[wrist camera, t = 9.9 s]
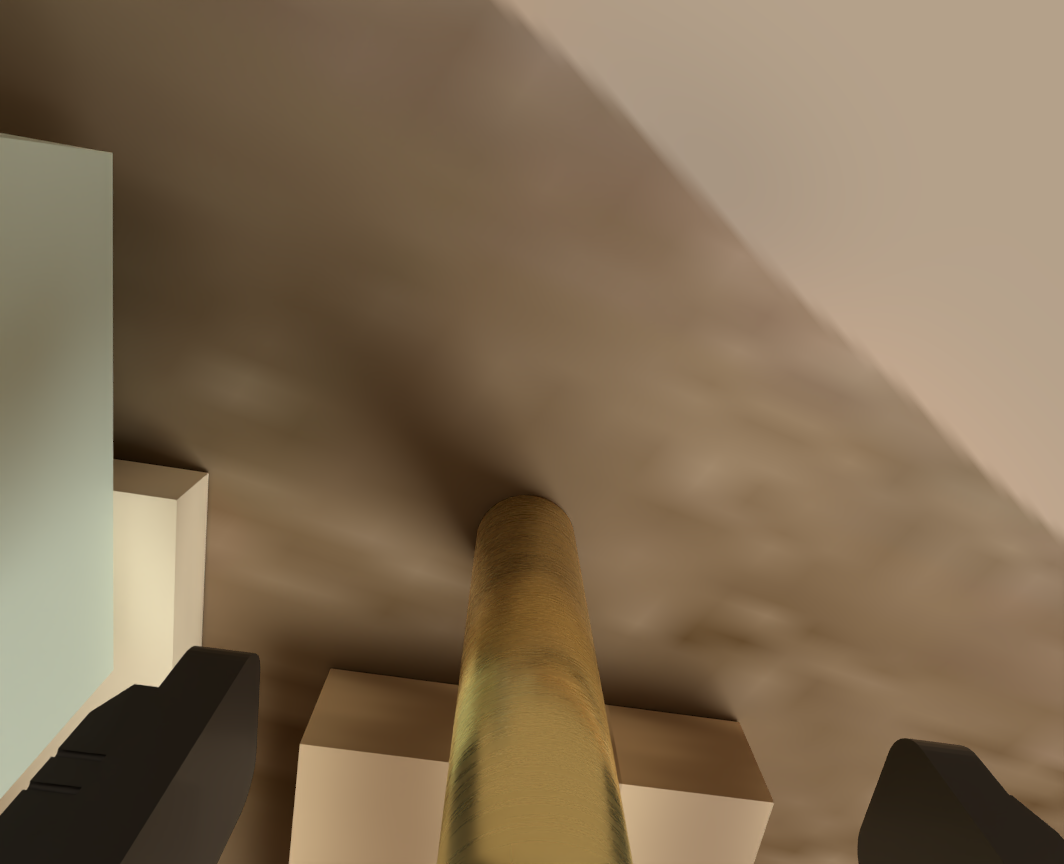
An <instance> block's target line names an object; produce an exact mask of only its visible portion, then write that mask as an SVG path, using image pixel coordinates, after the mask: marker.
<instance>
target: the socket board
mask: <svg viewBox="0 0 1064 864" xmlns="http://www.w3.org/2000/svg"><path fill="white" fill-rule="evenodd" d="M457 693H458V685H453V684H445V683H438V682H430V681H423V680H415V679H407V678H400V677H392V676H385V675H377V674H369V673H362V672H354V671H347V670H339V669H331V668H330V671H329V673H328V676H327V678H326V681H325V683H324V686H323V688H322V691H321V693H320V696H319V698H318V701H317V703H316V705H315V708H314V710H313V713H312V715H311V718H310V720H309V723H308V725H307V728H306V730H305V733H304V735H303V737H302V740H301V742H300V748H299V759H298V770H297V781H296V792H295V802H294V813H293V824H292V835H291V846H290V857H289V864H437V858H438V849H439V841H440V833H441V825H442V817H443V808H444V800H445V792H446V784H447V775H448V767H449V759H450V751H451V743H452V734H453V726H454V718H455V710H456V702H457ZM605 709H606V715H607V720H608V726H609V732H610V737H611V743H612V748H613V754H614V760H615V765H616V771H617V777H618V782H619V788H620V793H621V799H622V805H623V810H624V816H625V821H626V827H627V833H628V838H629V844H630V849H631V855H632V861H633V864H754V861H755V858H756V855H757V852H758V849H759V846H760V843H761V840H762V837H763V834H764V831H765V828H766V825H767V822H768V819H769V816H770V813H771V810H772V807H773V804H774V802H773V799H772V797H771V795H770V792H769V790H768V788H767V785H766V783H765V781H764V778H763V776H762V774H761V772H760V769H759V767H758V765H757V762H756V760H755V758H754V755H753V753H752V751H751V748H750V746H749V744H748V742H747V739H746V737H745V735H744V732H743V730H742V728H741V725H740V723H739V722H734V721H726V720H719V719H711V718H703V717H696V716H688V715H681V714H673V713H665V712H658V711H650V710H643V709H635V708H627V707H620V706H612V705H605Z"/></svg>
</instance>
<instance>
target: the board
mask: <svg viewBox="0 0 1064 864" xmlns="http://www.w3.org/2000/svg"><path fill="white" fill-rule="evenodd" d="M208 474H209V473H206V472H199V471H192V470H186V469H179V468H172V467H165V466H159V465H152V464H145V463H138V462H132V461H125V460H118V459H113V671H112V672H111V673H110V674H109V676H108V677H107V678H106V679H105V680H104V681H103V682H102V684H101V685H100V686H99V687H98V688H97V689H96V690H95V692H94V693H93V694H92V695H91V696H90V697H89V698H88V700H87V701H86V702H85V703H84V704H83V705H82V706H81V708H80V709H79V710H78V711H77V712H76V713H75V714H74V716H73V717H72V718H71V719H70V720H69V721H68V722H67V724H66V725H65V726H64V727H63V728H62V729H61V730H60V732H59V733H58V734H57V735H56V736H55V737H54V738H53V740H52V741H51V742H50V743H49V744H48V745H47V746H46V748H45V749H44V750H43V751H42V752H41V753H40V754H39V755H38V757H37V758H36V759H35V760H34V761H33V762H32V763H31V765H30V766H29V767H28V768H27V769H26V770H25V771H24V773H23V774H22V775H21V776H20V777H19V778H18V779H17V781H16V782H15V783H14V784H13V785H12V786H11V787H10V789H9V790H8V791H7V792H6V793H5V794H4V795H3V797H2V798H1V799H0V815H1V814H2V813H3V811H4V810H5V809H6V808H7V807H8V806H9V805H10V803H11V802H12V801H13V800H14V799H15V798H16V796H17V795H18V794H19V793H20V792H21V791H22V790H27V788H28V787H29V784H30V780H31V779H32V778H33V777H34V776H35V775H36V773H37V772H38V771H39V770H40V769H41V768H42V767H43V765H44V764H45V763H46V762H47V761H48V760H49V758H50V757H55V756H56V754H57V751H58V748H59V747H60V746H61V745H62V743H63V742H64V741H65V740H66V739H67V738H68V737H69V735H70V734H71V733H72V732H73V731H74V730H75V729H76V727H77V726H78V725H79V724H80V723H81V722H82V720H83V719H84V718H85V717H86V716H87V715H88V714H89V712H91V711H92V710H94V709H95V708H97V707H99V706H100V705H102V704H103V703H105V702H107V701H108V700H110V699H111V698H113V697H115V696H116V695H118V694H119V693H121V692H123V691H124V690H126V689H127V688H129V687H130V686H132V685H134V684H138V685H146V686H154V687H159V686H160V685H161V683H162V682H163V681H164V680H165V678H166V677H167V676H168V674H169V673H170V672H171V670H172V669H173V668H174V667H175V665H176V664H177V663H178V661H179V660H180V659H181V658H182V656H183V655H184V654H185V653H186V651H187V650H188V649H190V648H191V647H193V646H201V647H202V623H203V598H204V574H205V549H206V524H207V499H208Z"/></svg>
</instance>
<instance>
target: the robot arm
mask: <svg viewBox="0 0 1064 864" xmlns="http://www.w3.org/2000/svg"><path fill="white" fill-rule="evenodd" d="M259 685H260V660H259V657H258V655H257V654H256V653H248V652H240V651H233V650H225V649H217V648H209V647H201V646H193V647H191V648H190V649H188V650H187V651H186V653H185V654H184V655H183V656H182V658H181V659H180V660H179V661H178V663H177V664H176V665H175V667H174V668H173V669H172V670H171V672H170V673H169V674H168V676H167V677H166V678H165V680H164V681H163V682H162V683H161V685H160V686H159V687H154V686H146V685H138V684H134V685H132V686H130V687H129V688H127V689H126V690H124V691H123V692H121V693H119V694H118V695H116V696H115V697H113V698H111V699H110V700H108V701H107V702H105V703H103V704H102V705H100V706H99V707H97V708H95V709H94V710H92V711H91V712H89V714H88V715H87V716H86V717H85V718H84V719H83V720H82V722H81V723H80V724H79V725H78V726H77V727H76V729H75V730H74V731H73V732H72V733H71V734H70V735H69V737H68V738H67V739H66V740H65V741H64V742H63V743H62V745H61V746H60V747H59V748H58V751H57V754H56V756H55V757H50V758H49V760H48V761H47V762H46V763H45V764H44V765H43V767H42V768H41V769H40V770H39V771H38V772H37V773H36V775H35V776H34V777H33V778H32V779H31V780H30V784H29V787H28V788H27V790H22V791H21V792H20V793H19V794H18V795H17V796H16V798H15V799H14V800H13V801H12V802H11V803H10V805H9V806H8V807H7V808H6V809H5V810H4V811H3V813H2V814H1V815H0V864H217V863H218V861H219V858H220V856H221V854H222V852H223V850H224V848H225V846H226V844H227V842H228V839H229V837H230V835H231V833H232V831H233V829H234V827H235V825H236V823H237V820H238V818H239V816H240V814H241V812H242V809H243V807H244V804H245V802H246V799H247V796H248V792H249V789H250V785H251V782H252V777H253V773H254V767H255V761H256V748H257V727H258V706H259ZM858 862H859V864H1064V839H1063V838H1062V837H1061V836H1060V835H1059V834H1058V833H1057V832H1056V831H1055V830H1054V829H1053V828H1051V827H1050V826H1049V825H1048V824H1046V823H1045V822H1044V821H1043V820H1041V819H1040V818H1039V817H1038V816H1037V815H1035V814H1034V813H1033V812H1032V811H1030V810H1029V809H1028V808H1027V807H1025V806H1024V805H1023V804H1022V803H1021V802H1019V801H1018V800H1017V799H1016V798H1014V797H1013V796H1012V795H1009V794H1008V793H1007V792H1006V791H1005V790H1004V788H1003V787H1002V786H1001V785H1000V783H999V782H998V781H997V780H996V779H995V777H994V776H993V775H992V774H991V772H990V771H989V770H988V769H987V768H986V766H985V765H984V764H983V763H982V761H981V760H980V759H979V758H978V757H977V755H976V754H975V753H974V752H973V751H971V750H970V749H969V748H967V747H964V746H961V745H954V744H946V743H938V742H930V741H923V740H915V739H907V738H903V739H900V740H897V741H896V742H895V743H894V744H893V746H892V747H891V749H890V751H889V753H888V756H887V758H886V761H885V764H884V767H883V769H882V772H881V775H880V777H879V780H878V783H877V785H876V788H875V791H874V793H873V796H872V799H871V802H870V804H869V807H868V810H867V812H866V815H865V818H864V820H863V823H862V826H861V829H860V832H859V837H858Z"/></svg>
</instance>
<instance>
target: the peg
mask: <svg viewBox="0 0 1064 864" xmlns="http://www.w3.org/2000/svg"><path fill="white" fill-rule="evenodd" d="M437 864H633V861H632V855H631V849H630V844H629V838H628V833H627V827H626V821H625V816H624V810H623V805H622V799H621V793H620V788H619V782H618V777H617V771H616V765H615V760H614V754H613V748H612V743H611V737H610V732H609V726H608V720H607V715H606V709H605V704H604V698H603V692H602V687H601V681H600V676H599V670H598V664H597V659H596V653H595V647H594V642H593V636H592V631H591V625H590V619H589V614H588V608H587V603H586V597H585V591H584V586H583V580H582V575H581V569H580V563H579V558H578V552H577V546H576V541H575V535H574V530H573V527H572V524H571V522H570V520H569V518H568V516H567V515H566V514H565V512H564V511H563V510H562V509H561V508H560V507H559V506H557V505H556V504H554V503H553V502H551V501H549V500H547V499H545V498H542V497H538V496H532V495H520V496H514V497H510V498H507V499H505V500H502V501H501V502H499V503H497V504H496V505H494V506H493V507H492V508H491V509H490V510H489V511H488V512H487V513H486V514H485V516H484V517H483V519H482V520H481V522H480V525H479V527H478V531H477V537H476V546H475V554H474V562H473V570H472V579H471V587H470V595H469V603H468V611H467V620H466V628H465V636H464V644H463V652H462V661H461V669H460V677H459V685H458V693H457V702H456V710H455V718H454V726H453V734H452V743H451V751H450V759H449V767H448V775H447V784H446V792H445V800H444V808H443V817H442V825H441V833H440V841H439V849H438V858H437Z"/></svg>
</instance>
